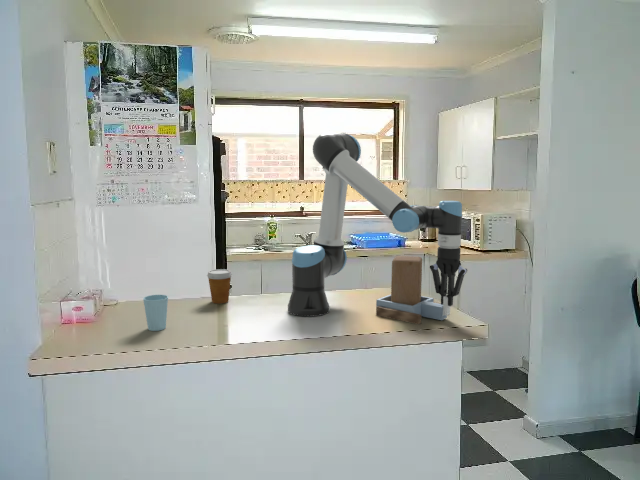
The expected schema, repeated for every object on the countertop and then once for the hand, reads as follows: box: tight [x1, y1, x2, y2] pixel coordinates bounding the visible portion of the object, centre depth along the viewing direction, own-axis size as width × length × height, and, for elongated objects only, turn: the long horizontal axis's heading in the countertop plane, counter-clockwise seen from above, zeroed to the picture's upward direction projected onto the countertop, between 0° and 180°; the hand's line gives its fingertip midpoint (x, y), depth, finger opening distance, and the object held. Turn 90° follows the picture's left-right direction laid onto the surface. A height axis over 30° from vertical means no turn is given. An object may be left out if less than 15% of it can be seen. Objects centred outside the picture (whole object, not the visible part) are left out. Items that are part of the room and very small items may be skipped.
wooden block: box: [390, 255, 423, 306], centre depth 187 cm, size 10×10×20 cm
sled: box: [375, 293, 448, 321], centre depth 185 cm, size 23×15×4 cm, turn 51°
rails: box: [375, 301, 441, 325], centre depth 187 cm, size 17×19×3 cm
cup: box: [143, 294, 169, 332], centre depth 168 cm, size 8×8×10 cm
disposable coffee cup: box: [206, 268, 233, 305], centre depth 201 cm, size 10×10×12 cm
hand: (446, 314), depth 178 cm, fingers closed
